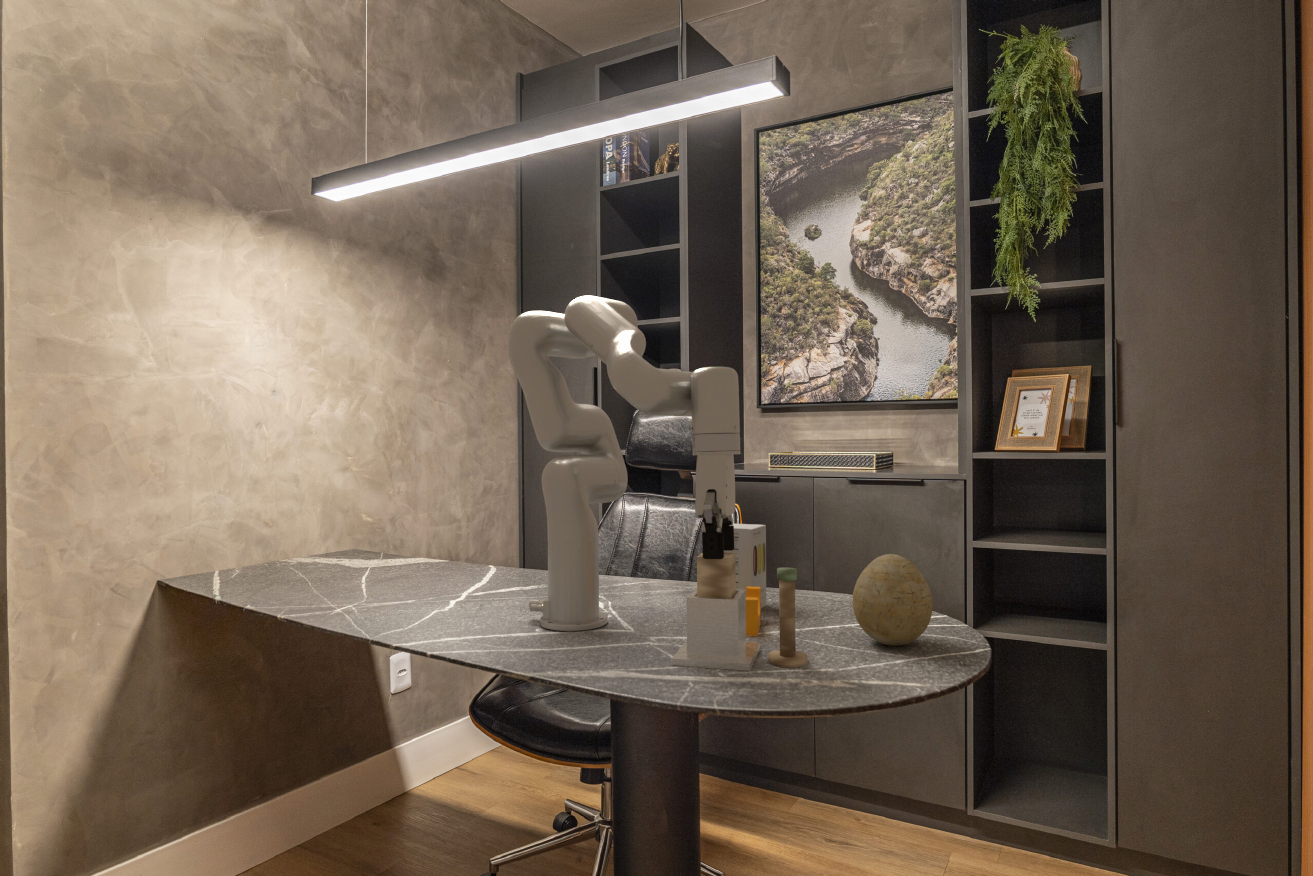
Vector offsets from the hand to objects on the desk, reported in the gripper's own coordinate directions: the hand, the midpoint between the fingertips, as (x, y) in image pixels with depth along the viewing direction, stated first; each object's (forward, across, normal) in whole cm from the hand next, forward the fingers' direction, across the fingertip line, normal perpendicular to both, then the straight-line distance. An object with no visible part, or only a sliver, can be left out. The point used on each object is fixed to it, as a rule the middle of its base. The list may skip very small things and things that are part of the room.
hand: (719, 554), depth 118 cm
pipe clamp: (+16, -20, +1) cm, 26 cm away
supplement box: (+16, -35, -3) cm, 39 cm away
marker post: (+16, 0, +10) cm, 19 cm away
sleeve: (+16, 0, -1) cm, 16 cm away
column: (+15, 0, -1) cm, 15 cm away
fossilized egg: (+17, -14, +26) cm, 34 cm away
